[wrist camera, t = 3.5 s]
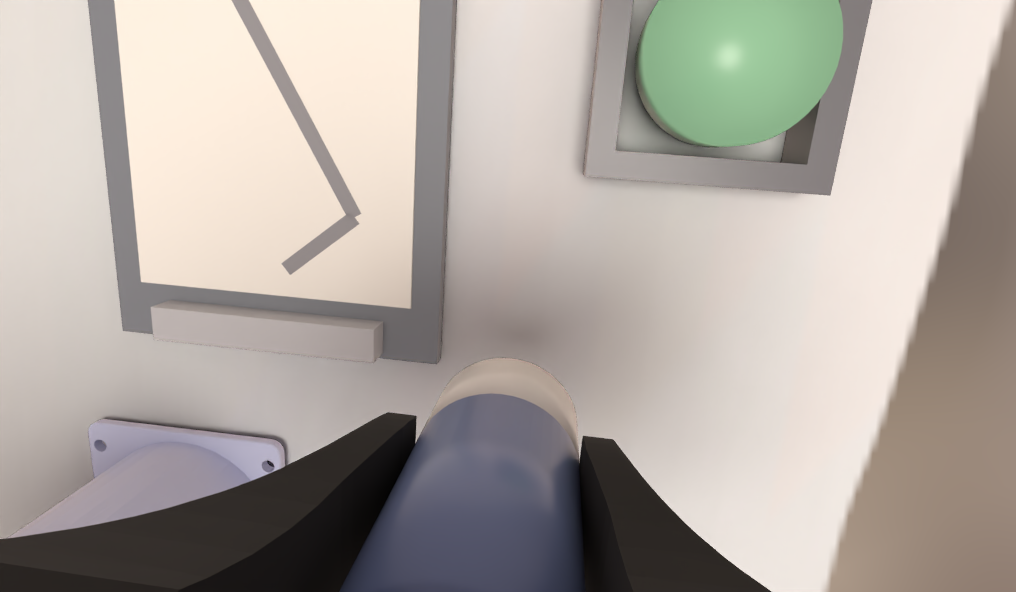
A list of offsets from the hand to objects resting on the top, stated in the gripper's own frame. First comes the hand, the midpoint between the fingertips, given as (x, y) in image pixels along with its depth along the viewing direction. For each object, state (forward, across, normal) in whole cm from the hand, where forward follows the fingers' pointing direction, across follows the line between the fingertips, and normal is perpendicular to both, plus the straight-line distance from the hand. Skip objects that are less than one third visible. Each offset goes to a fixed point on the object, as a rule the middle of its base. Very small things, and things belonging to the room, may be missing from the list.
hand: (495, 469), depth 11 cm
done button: (+7, -5, -9) cm, 13 cm away
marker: (+2, 0, 0) cm, 2 cm away
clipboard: (+9, +9, -7) cm, 14 cm away
